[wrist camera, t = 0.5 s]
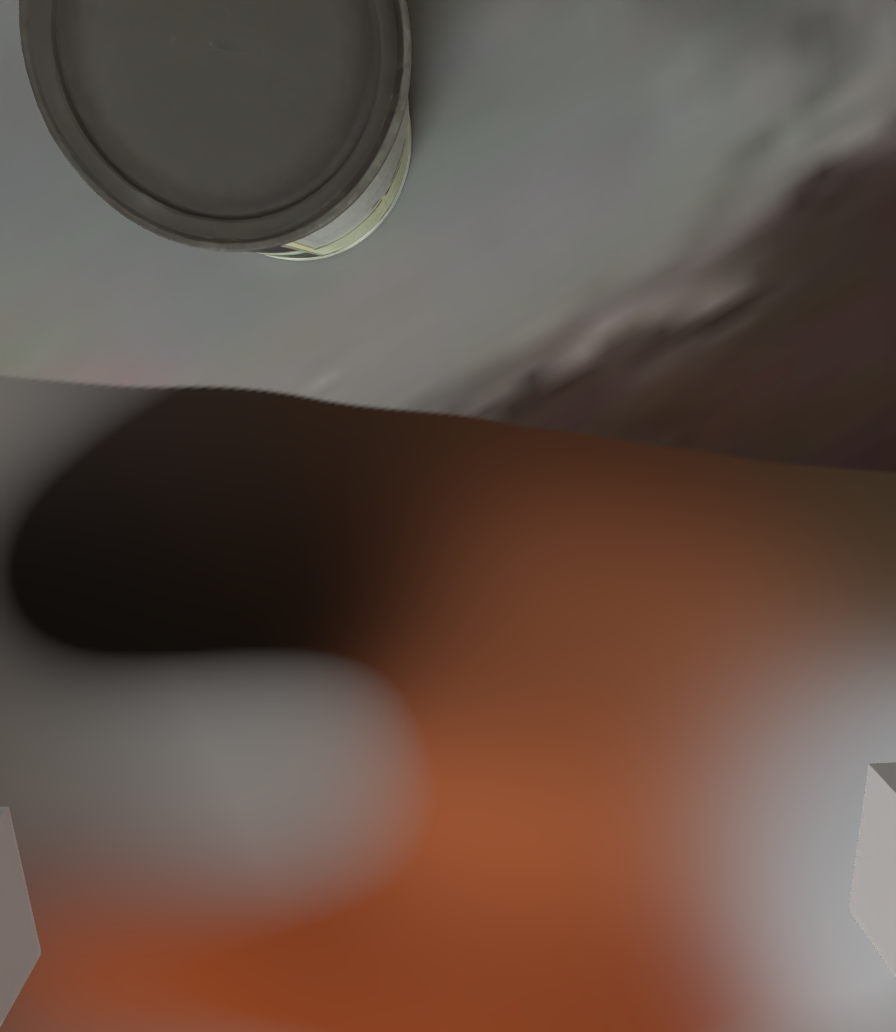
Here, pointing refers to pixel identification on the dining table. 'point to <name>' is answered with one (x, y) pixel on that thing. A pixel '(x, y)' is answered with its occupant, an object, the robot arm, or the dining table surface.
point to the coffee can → (230, 114)
